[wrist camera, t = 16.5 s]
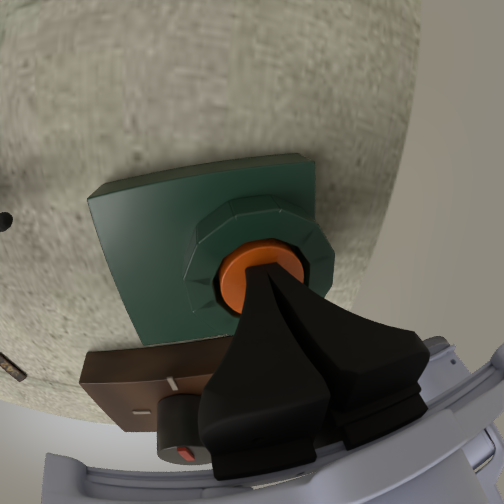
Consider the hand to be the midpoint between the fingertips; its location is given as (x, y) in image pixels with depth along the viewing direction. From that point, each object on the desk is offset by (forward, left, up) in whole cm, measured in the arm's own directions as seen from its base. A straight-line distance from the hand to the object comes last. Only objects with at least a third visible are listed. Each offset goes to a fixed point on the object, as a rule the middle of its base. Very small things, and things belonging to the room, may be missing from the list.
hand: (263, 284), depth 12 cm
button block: (+2, 0, -4) cm, 4 cm away
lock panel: (+6, +11, -4) cm, 13 cm away
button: (0, 0, -2) cm, 2 cm away
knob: (+6, +11, -1) cm, 13 cm away
